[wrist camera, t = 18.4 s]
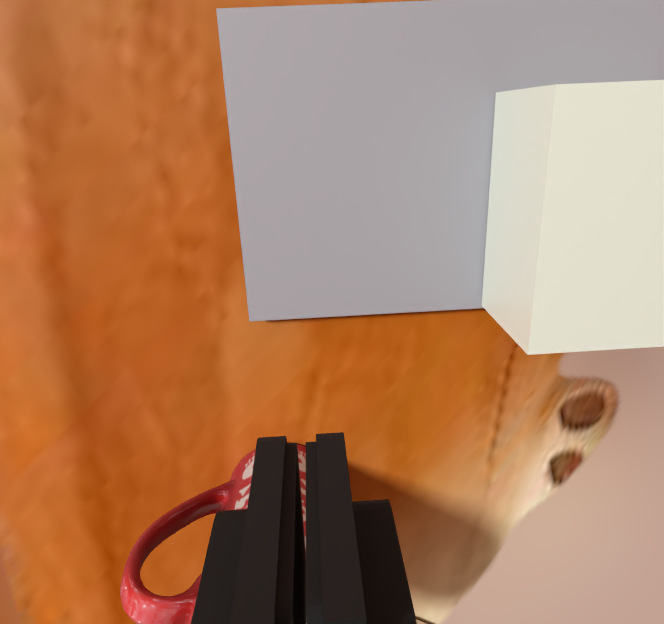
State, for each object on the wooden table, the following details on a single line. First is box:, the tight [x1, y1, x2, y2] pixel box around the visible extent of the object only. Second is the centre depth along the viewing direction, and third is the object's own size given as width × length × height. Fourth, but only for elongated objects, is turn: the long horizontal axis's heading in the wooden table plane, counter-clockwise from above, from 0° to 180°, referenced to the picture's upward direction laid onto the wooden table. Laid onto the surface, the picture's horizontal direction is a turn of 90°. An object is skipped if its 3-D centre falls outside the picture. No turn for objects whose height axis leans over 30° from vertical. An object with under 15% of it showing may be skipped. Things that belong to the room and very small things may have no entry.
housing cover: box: [482, 80, 664, 355], centre depth 25 cm, size 12×8×7 cm
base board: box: [216, 0, 664, 321], centre depth 27 cm, size 16×23×3 cm
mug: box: [120, 444, 307, 624], centre depth 29 cm, size 13×9×14 cm
